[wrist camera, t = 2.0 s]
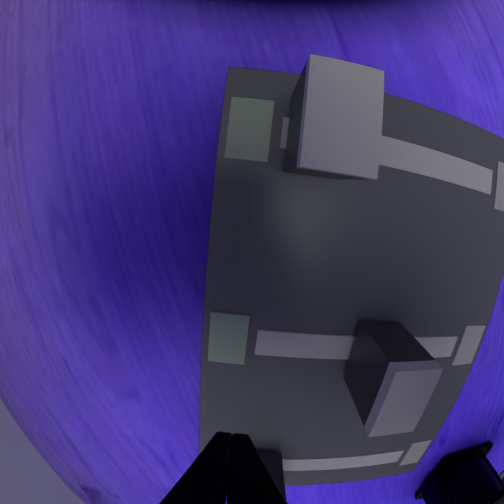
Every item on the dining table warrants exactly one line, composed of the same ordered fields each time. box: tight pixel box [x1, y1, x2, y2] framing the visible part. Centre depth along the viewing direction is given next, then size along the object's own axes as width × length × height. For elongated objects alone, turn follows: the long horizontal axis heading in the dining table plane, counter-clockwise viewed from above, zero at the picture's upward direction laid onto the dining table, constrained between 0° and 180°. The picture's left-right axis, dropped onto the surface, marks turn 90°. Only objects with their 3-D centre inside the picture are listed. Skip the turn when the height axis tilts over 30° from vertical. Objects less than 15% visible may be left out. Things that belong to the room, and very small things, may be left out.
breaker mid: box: [343, 320, 443, 437], centre depth 11 cm, size 2×3×4 cm, turn 174°
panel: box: [199, 67, 504, 485], centre depth 14 cm, size 15×22×2 cm
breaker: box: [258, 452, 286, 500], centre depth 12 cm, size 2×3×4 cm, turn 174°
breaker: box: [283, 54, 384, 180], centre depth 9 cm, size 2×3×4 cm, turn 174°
